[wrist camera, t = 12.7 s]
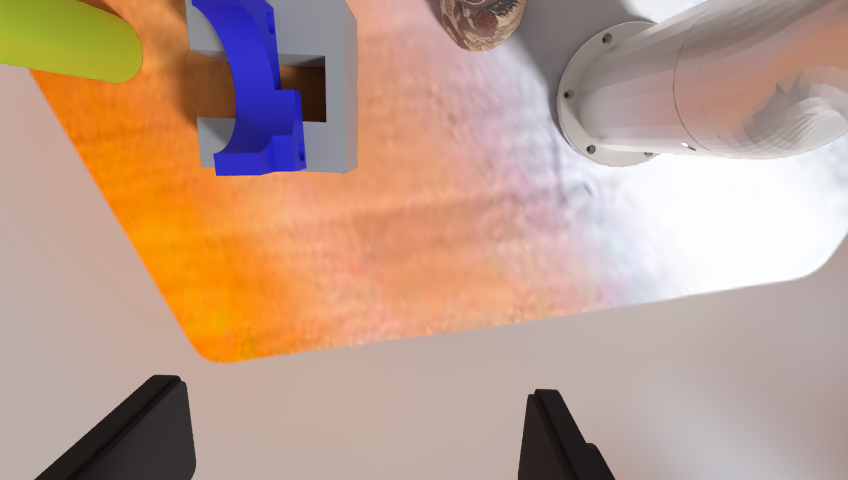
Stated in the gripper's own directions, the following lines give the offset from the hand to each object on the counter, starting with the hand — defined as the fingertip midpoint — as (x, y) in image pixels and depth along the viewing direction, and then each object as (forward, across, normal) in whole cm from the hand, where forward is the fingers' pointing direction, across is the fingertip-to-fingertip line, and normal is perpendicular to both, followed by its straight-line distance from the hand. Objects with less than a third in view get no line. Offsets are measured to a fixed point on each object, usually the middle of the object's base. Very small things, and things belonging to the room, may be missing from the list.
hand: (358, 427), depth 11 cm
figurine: (+31, -6, -19) cm, 36 cm away
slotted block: (+30, +11, -11) cm, 34 cm away
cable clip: (+24, +11, -11) cm, 29 cm away
